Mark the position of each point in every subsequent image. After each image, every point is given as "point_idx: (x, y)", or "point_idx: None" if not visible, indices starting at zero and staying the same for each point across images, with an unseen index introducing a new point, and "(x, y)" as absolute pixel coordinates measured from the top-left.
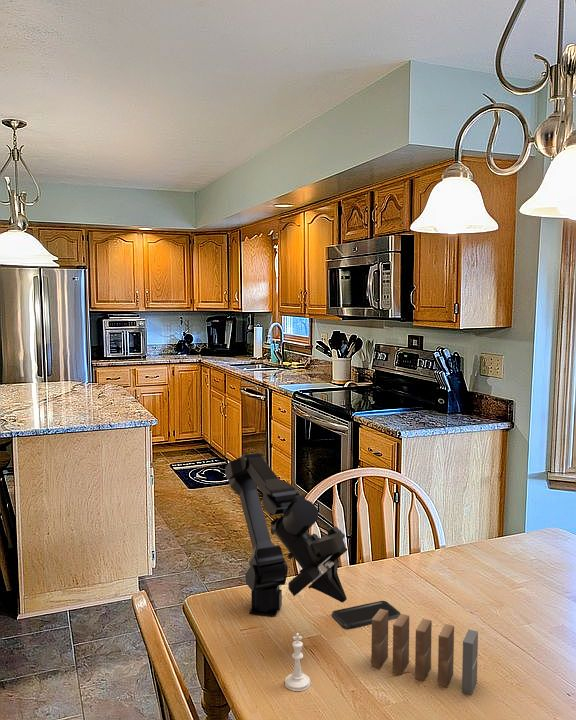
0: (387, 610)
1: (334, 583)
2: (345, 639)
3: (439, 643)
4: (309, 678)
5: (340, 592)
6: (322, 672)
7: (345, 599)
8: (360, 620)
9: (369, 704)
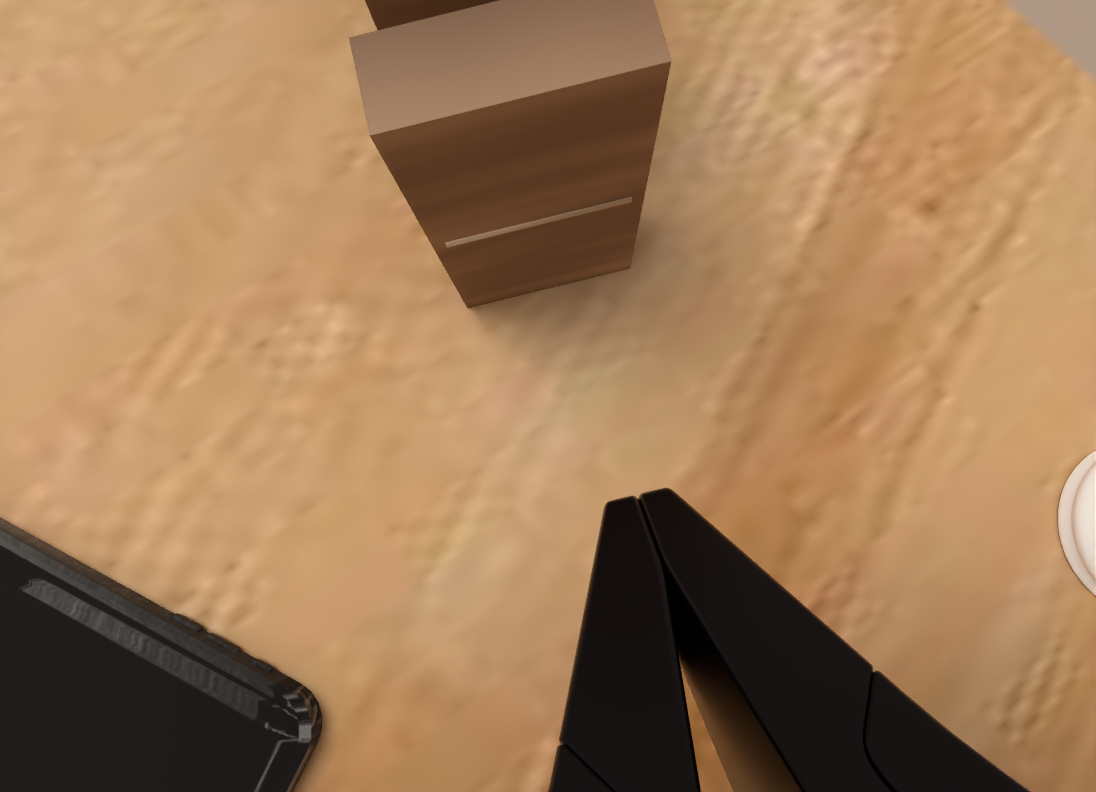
0: (354, 46)
1: (877, 760)
2: (454, 618)
3: None
4: (1088, 477)
5: (738, 573)
6: (919, 479)
7: (659, 490)
8: (156, 680)
9: (960, 64)
